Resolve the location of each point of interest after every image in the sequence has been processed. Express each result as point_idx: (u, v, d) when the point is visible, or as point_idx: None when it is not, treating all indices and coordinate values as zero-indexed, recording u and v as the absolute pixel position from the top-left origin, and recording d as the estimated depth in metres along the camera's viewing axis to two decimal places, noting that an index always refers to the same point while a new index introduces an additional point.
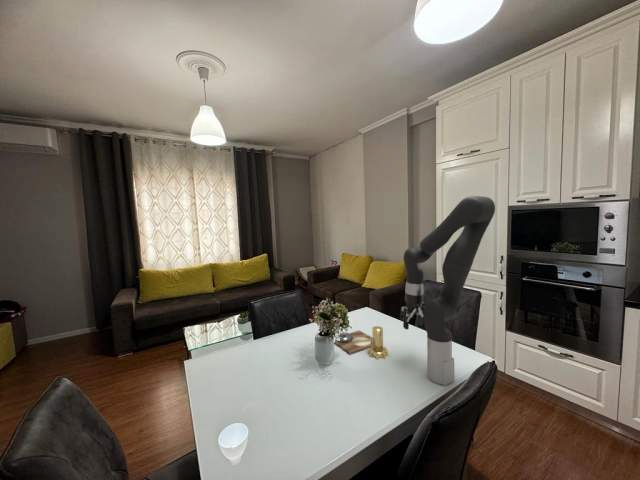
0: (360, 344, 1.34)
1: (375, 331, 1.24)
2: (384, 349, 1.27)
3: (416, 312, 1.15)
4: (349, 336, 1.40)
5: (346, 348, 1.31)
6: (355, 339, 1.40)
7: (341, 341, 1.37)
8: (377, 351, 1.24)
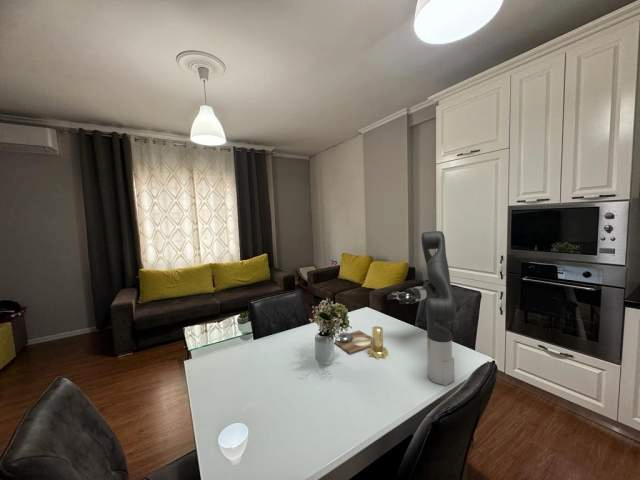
0: (360, 344, 1.34)
1: (375, 331, 1.24)
2: (384, 349, 1.27)
3: (404, 295, 1.33)
4: (349, 336, 1.40)
5: (346, 348, 1.31)
6: (355, 339, 1.40)
7: (341, 341, 1.37)
8: (377, 351, 1.24)
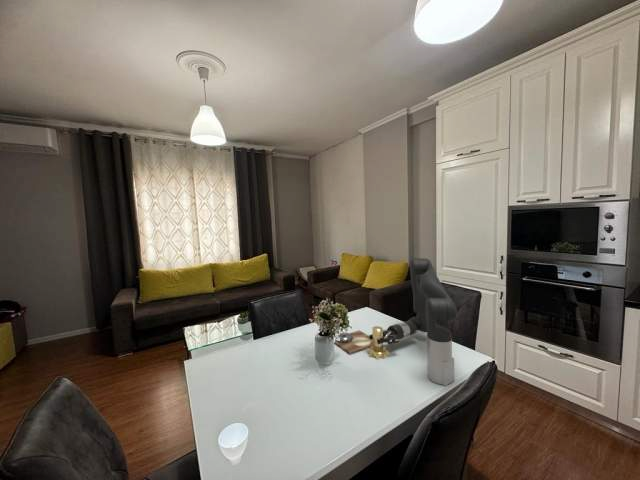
0: (360, 344, 1.34)
1: (375, 331, 1.24)
2: (384, 349, 1.27)
3: (386, 333, 1.29)
4: (349, 336, 1.40)
5: (346, 348, 1.31)
6: (355, 339, 1.40)
7: (341, 341, 1.37)
8: (377, 351, 1.24)
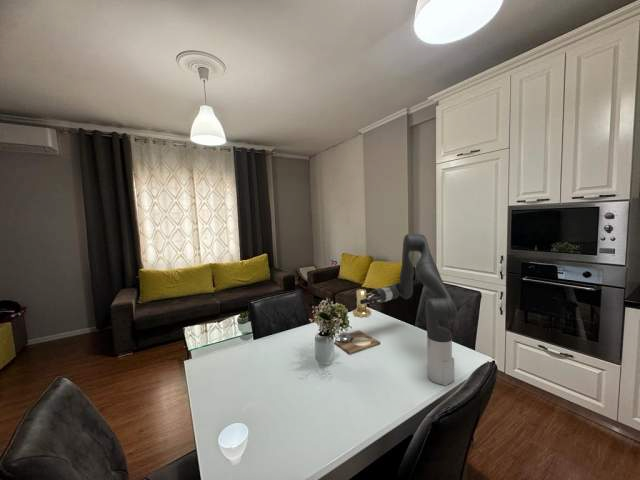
0: (360, 344, 1.34)
1: (359, 293, 1.34)
2: (367, 310, 1.37)
3: (369, 296, 1.38)
4: (349, 336, 1.40)
5: (346, 348, 1.31)
6: (355, 339, 1.40)
7: (341, 341, 1.37)
8: (361, 311, 1.34)
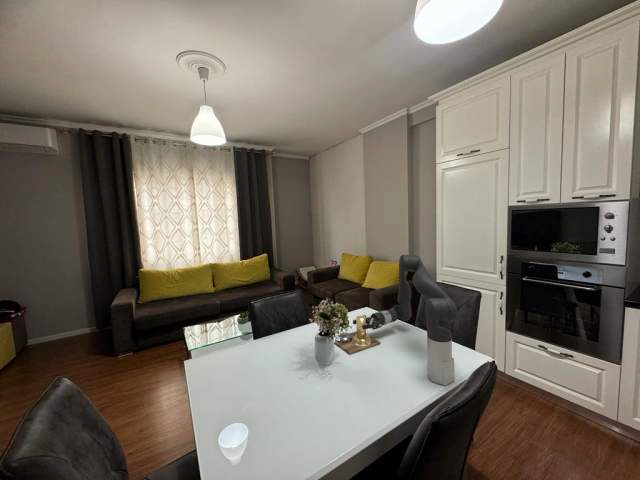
0: None
1: (358, 320, 1.35)
2: (367, 337, 1.38)
3: (369, 320, 1.39)
4: (349, 336, 1.40)
5: (346, 348, 1.31)
6: None
7: (341, 341, 1.37)
8: (360, 338, 1.35)
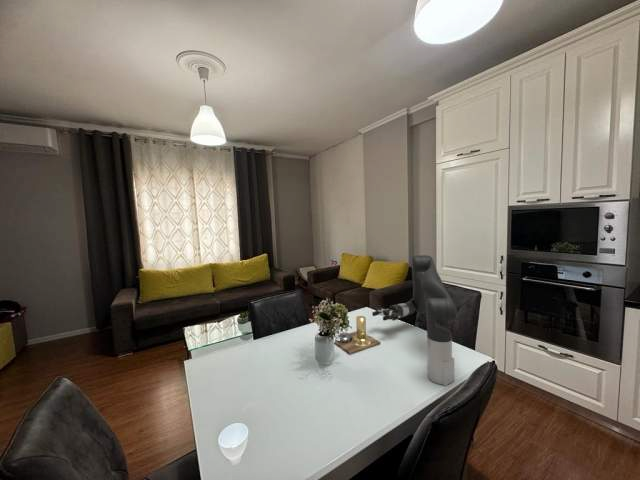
0: None
1: (358, 320, 1.35)
2: (367, 337, 1.38)
3: (388, 312, 1.45)
4: (349, 336, 1.40)
5: (346, 348, 1.31)
6: None
7: (341, 341, 1.37)
8: (360, 338, 1.35)
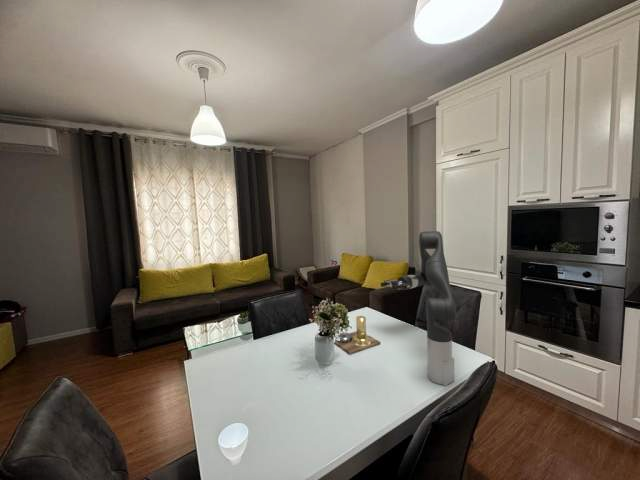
0: None
1: (358, 320, 1.35)
2: (367, 337, 1.38)
3: (396, 282, 1.41)
4: (349, 336, 1.40)
5: (346, 348, 1.31)
6: None
7: (341, 341, 1.37)
8: (360, 338, 1.35)
